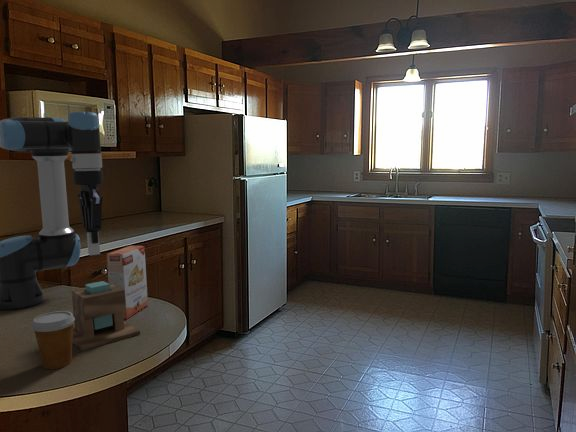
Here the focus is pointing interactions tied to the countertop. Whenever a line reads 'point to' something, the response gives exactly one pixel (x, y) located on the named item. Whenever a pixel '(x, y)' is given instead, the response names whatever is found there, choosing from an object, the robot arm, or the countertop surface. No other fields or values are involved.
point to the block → (94, 289)
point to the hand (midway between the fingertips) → (94, 254)
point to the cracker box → (129, 276)
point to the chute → (95, 307)
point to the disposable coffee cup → (54, 338)
